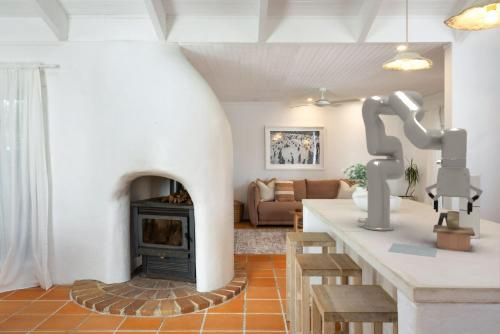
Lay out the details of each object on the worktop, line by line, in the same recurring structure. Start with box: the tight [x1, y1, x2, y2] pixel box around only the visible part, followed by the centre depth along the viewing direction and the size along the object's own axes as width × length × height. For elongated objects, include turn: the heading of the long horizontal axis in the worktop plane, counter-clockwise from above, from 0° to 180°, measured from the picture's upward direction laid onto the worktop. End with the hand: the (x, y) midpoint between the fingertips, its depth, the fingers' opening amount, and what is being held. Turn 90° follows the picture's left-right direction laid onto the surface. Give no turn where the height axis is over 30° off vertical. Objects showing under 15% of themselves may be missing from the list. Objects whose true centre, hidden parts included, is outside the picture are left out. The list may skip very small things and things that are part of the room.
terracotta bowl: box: [436, 233, 471, 252], centre depth 122 cm, size 10×10×6 cm
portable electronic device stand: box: [436, 212, 447, 226], centre depth 154 cm, size 9×8×8 cm
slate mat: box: [387, 242, 438, 258], centre depth 119 cm, size 14×14×1 cm
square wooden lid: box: [432, 210, 475, 236], centre depth 122 cm, size 12×12×7 cm
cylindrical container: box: [458, 174, 481, 239], centre depth 142 cm, size 7×7×25 cm
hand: (452, 212), depth 123 cm, fingers open, 9 cm apart
